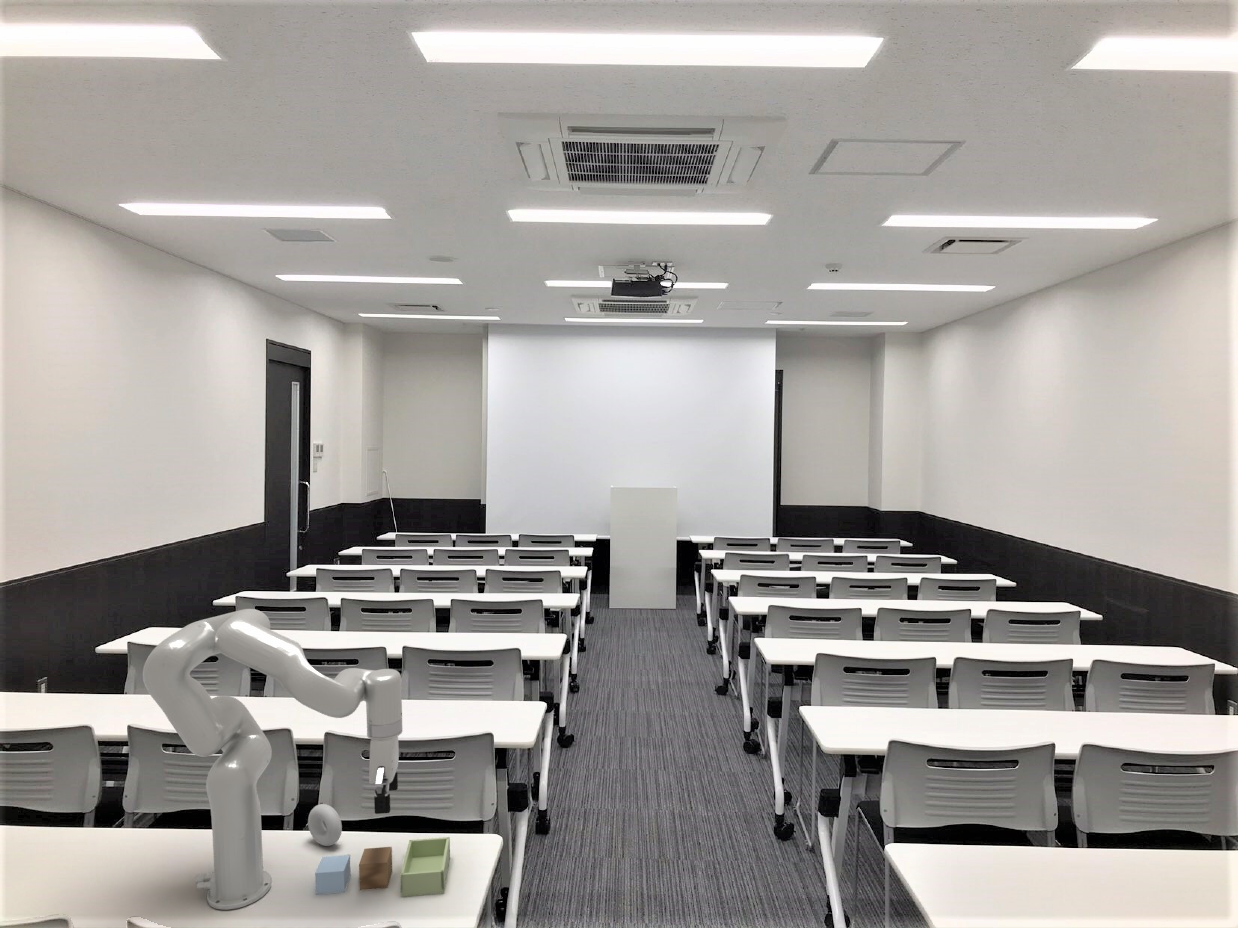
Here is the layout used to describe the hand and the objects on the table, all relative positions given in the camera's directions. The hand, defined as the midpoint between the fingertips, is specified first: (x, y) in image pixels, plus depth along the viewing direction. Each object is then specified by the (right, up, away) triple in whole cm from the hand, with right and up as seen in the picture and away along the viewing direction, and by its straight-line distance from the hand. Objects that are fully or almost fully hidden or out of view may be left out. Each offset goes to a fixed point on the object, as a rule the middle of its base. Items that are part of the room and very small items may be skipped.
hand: (386, 800), depth 166 cm
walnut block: (-3, -18, +1) cm, 19 cm away
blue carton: (-12, -19, 0) cm, 22 cm away
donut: (-20, -18, +15) cm, 30 cm away
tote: (+8, -18, +2) cm, 20 cm away
